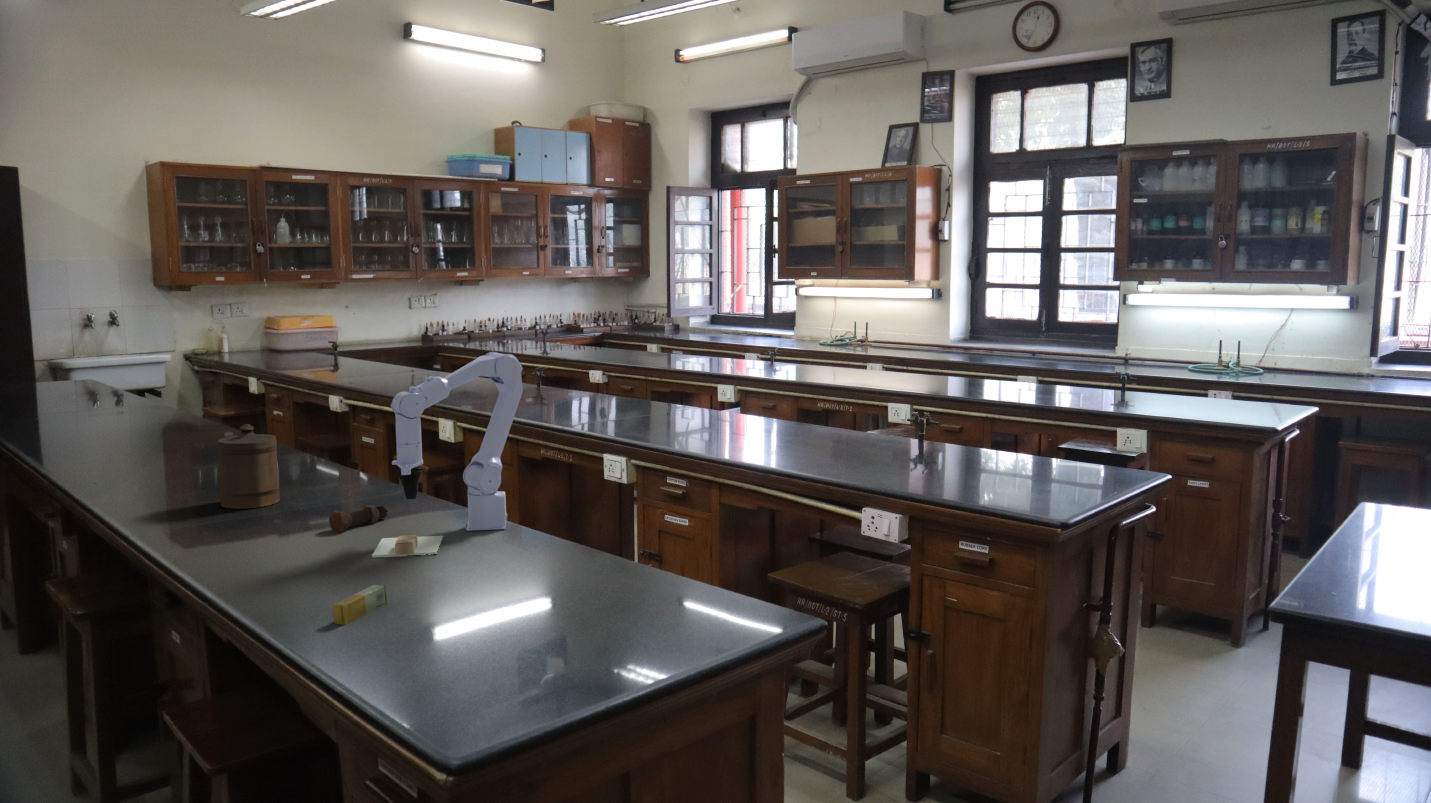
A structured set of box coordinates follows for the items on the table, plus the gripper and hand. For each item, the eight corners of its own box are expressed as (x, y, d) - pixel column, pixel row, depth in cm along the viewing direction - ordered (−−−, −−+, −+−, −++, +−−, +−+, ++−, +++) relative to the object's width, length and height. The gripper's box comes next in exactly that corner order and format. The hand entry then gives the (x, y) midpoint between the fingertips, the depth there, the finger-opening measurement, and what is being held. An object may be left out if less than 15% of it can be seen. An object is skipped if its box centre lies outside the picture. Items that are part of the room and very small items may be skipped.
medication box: (376, 603, 188) (375, 583, 188) (388, 604, 187) (386, 584, 187) (333, 624, 177) (331, 603, 177) (345, 626, 176) (343, 604, 176)
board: (442, 537, 233) (442, 535, 233) (436, 554, 219) (436, 552, 219) (382, 540, 231) (382, 538, 231) (372, 557, 217) (371, 555, 217)
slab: (417, 534, 225) (413, 542, 218) (417, 545, 225) (413, 553, 218) (399, 535, 224) (394, 543, 217) (399, 545, 224) (395, 554, 218)
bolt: (386, 525, 251) (338, 537, 238) (375, 514, 253) (326, 525, 240) (394, 508, 249) (345, 519, 236) (382, 496, 251) (333, 506, 238)
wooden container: (290, 497, 274) (286, 420, 271) (261, 510, 259) (256, 429, 256) (241, 496, 276) (236, 419, 273) (209, 508, 261) (203, 428, 258)
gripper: (396, 437, 236) (398, 492, 237) (386, 448, 221) (389, 506, 223) (426, 436, 237) (428, 491, 239) (418, 447, 223) (420, 505, 224)
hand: (411, 498), depth 231 cm, fingers closed
